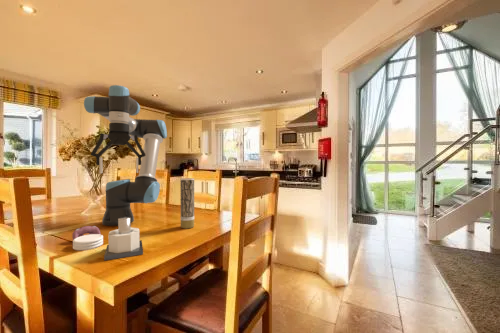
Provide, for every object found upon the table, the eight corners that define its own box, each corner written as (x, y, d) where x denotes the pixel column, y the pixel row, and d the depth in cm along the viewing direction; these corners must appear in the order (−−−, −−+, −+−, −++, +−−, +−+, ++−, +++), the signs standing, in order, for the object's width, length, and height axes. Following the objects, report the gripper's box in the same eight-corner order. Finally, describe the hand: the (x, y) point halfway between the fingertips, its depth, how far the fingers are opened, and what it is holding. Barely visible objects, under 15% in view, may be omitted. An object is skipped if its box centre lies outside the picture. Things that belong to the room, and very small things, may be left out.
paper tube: (190, 229, 116) (190, 179, 115) (178, 228, 117) (178, 178, 116) (196, 225, 122) (196, 178, 122) (184, 224, 124) (184, 177, 123)
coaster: (108, 241, 98) (108, 233, 98) (93, 251, 88) (93, 241, 88) (84, 242, 98) (84, 233, 98) (66, 251, 88) (66, 242, 88)
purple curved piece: (99, 240, 103) (97, 225, 105) (102, 238, 100) (100, 222, 103) (72, 246, 96) (70, 229, 98) (74, 244, 93) (72, 227, 95)
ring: (110, 245, 90) (110, 229, 89) (138, 241, 94) (138, 226, 94) (107, 254, 81) (107, 237, 81) (139, 249, 85) (139, 233, 85)
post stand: (107, 248, 90) (107, 216, 90) (141, 243, 95) (141, 213, 95) (104, 260, 79) (103, 224, 79) (142, 254, 85) (142, 220, 84)
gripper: (82, 119, 90) (82, 173, 91) (151, 124, 102) (151, 172, 102) (85, 122, 97) (86, 173, 98) (150, 126, 108) (150, 172, 109)
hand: (119, 173), depth 100 cm, fingers open, 13 cm apart
